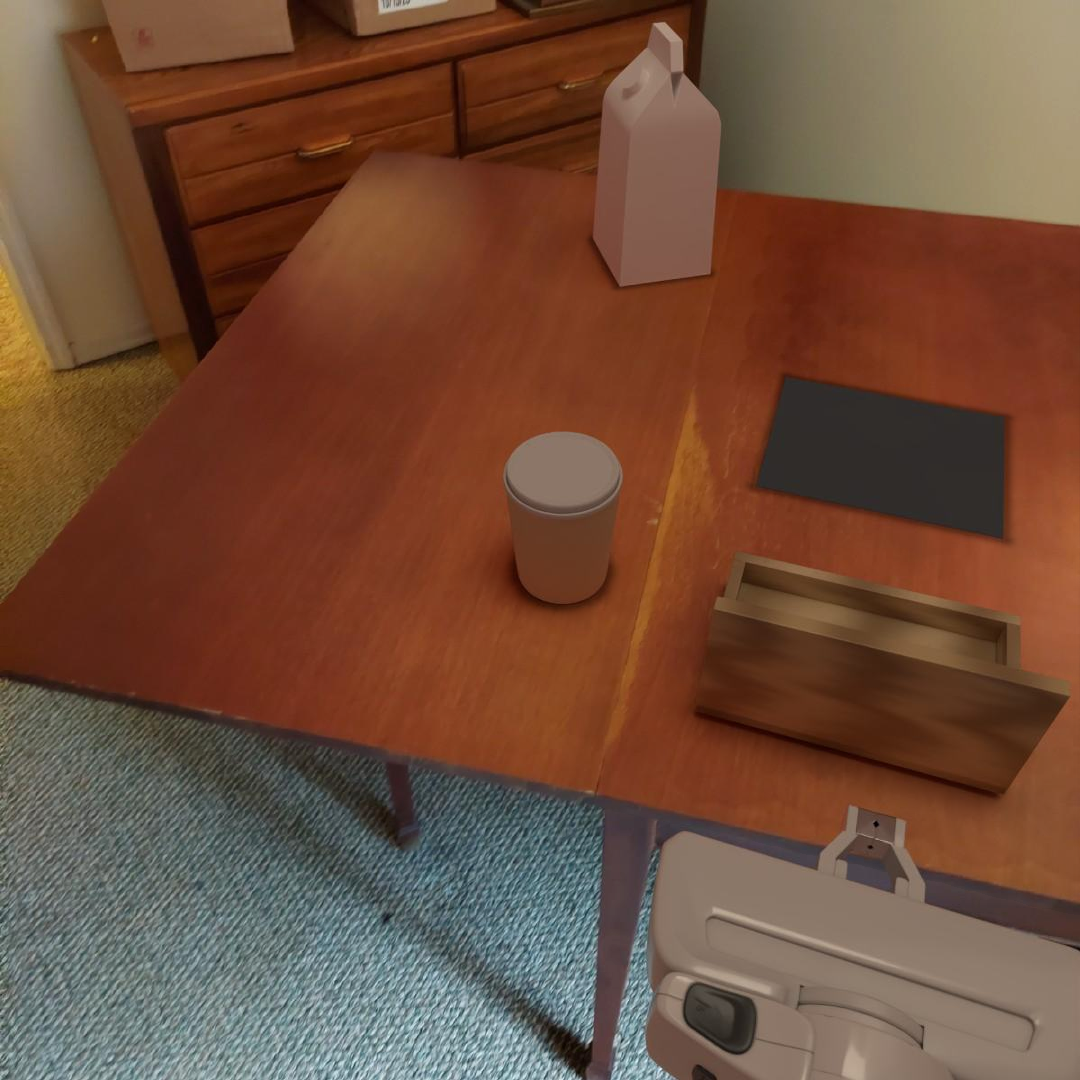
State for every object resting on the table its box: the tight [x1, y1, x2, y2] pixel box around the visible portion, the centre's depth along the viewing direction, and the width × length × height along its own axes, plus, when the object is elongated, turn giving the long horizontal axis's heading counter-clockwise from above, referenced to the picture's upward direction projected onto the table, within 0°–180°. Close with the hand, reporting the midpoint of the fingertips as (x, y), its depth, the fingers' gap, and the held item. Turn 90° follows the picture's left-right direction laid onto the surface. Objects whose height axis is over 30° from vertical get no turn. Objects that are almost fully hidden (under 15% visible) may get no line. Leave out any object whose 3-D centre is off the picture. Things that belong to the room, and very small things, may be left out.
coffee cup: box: [502, 431, 624, 605], centre depth 78 cm, size 9×9×12 cm
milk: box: [592, 21, 722, 288], centre depth 110 cm, size 12×12×26 cm
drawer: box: [694, 550, 1071, 795], centre depth 70 cm, size 22×14×13 cm, turn 71°
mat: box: [755, 376, 1005, 540], centre depth 93 cm, size 22×18×1 cm
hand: (873, 817), depth 50 cm, fingers closed
